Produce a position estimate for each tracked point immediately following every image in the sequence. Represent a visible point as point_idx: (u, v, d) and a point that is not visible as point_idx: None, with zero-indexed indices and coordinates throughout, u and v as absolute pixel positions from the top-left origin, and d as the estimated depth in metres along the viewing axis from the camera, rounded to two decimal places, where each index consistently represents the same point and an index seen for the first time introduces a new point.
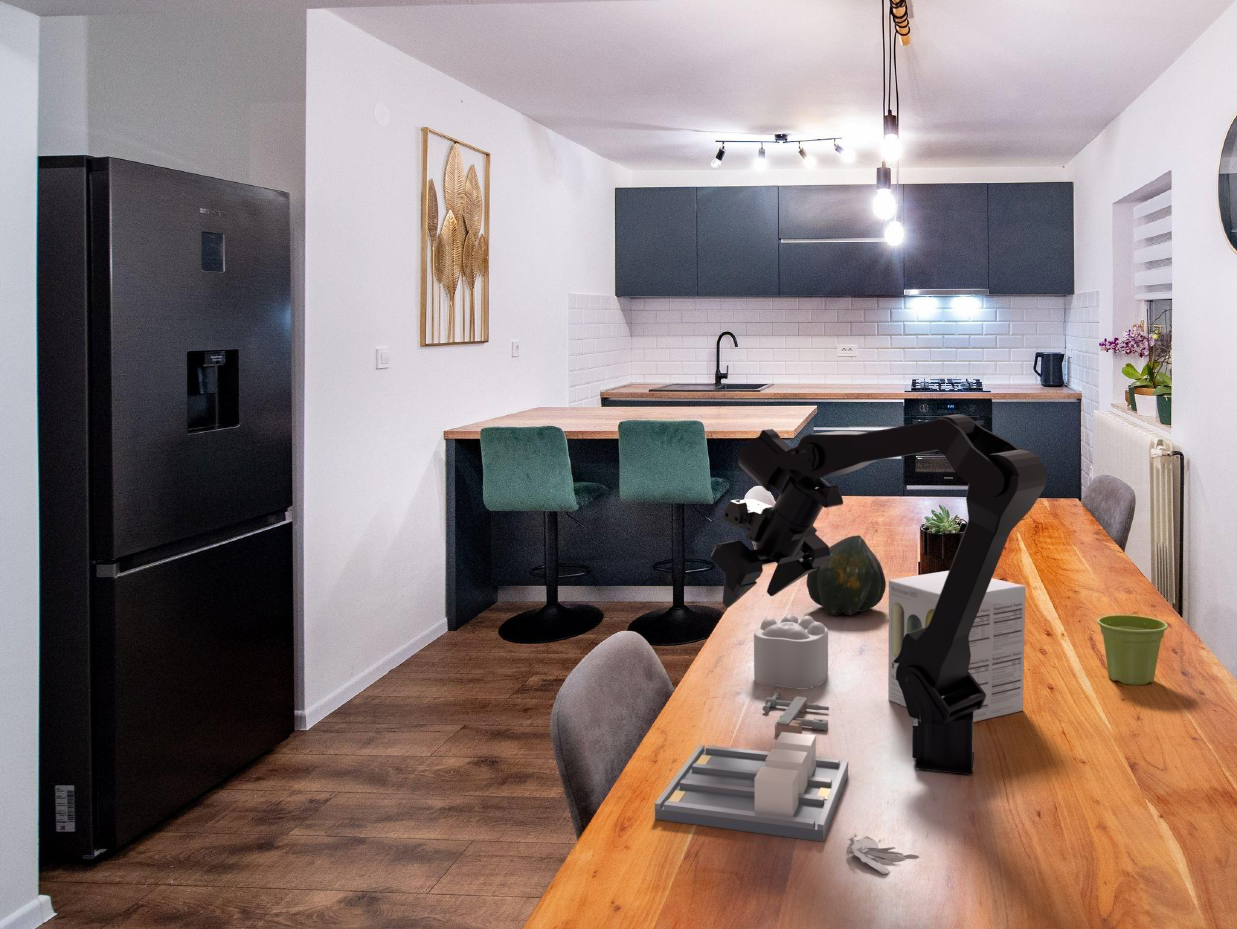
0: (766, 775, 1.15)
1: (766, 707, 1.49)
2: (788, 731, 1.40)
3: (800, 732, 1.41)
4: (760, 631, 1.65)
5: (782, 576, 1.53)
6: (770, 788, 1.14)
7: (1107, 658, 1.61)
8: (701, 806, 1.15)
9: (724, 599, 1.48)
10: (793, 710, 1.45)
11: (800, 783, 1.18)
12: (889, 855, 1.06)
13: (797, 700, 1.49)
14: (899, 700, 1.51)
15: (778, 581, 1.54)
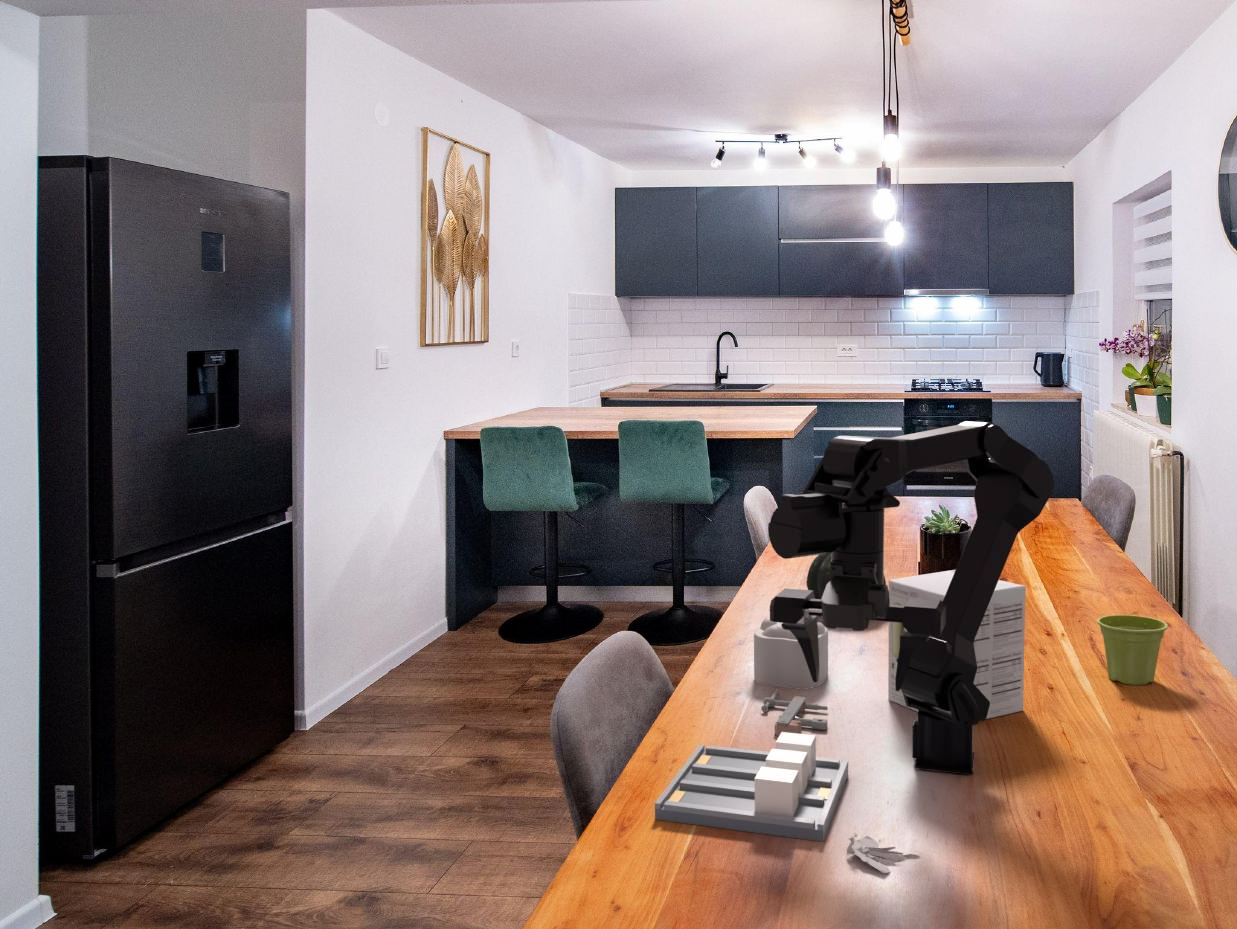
0: (766, 775, 1.15)
1: (765, 707, 1.49)
2: (788, 731, 1.40)
3: (800, 732, 1.41)
4: (760, 631, 1.65)
5: (815, 648, 1.24)
6: (770, 788, 1.14)
7: (1107, 658, 1.61)
8: (701, 806, 1.15)
9: (902, 682, 1.20)
10: (792, 710, 1.45)
11: (800, 783, 1.18)
12: (889, 855, 1.06)
13: (796, 700, 1.49)
14: (899, 700, 1.51)
15: (816, 657, 1.24)
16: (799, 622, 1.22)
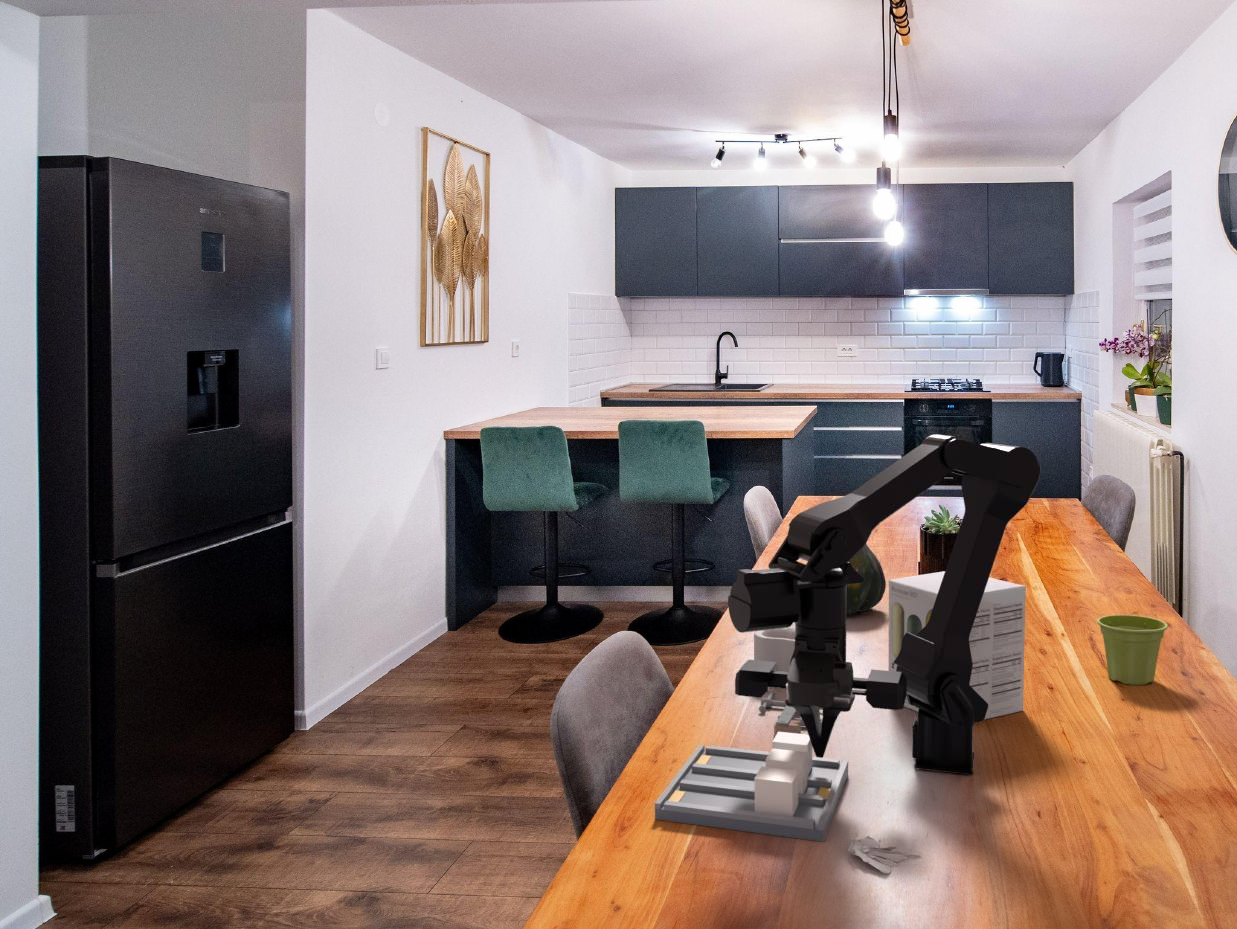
0: (766, 775, 1.15)
1: (762, 707, 1.49)
2: (788, 731, 1.40)
3: (799, 732, 1.41)
4: (760, 631, 1.65)
5: (818, 723, 1.25)
6: (770, 788, 1.14)
7: (1107, 658, 1.61)
8: (701, 806, 1.15)
9: (825, 749, 1.24)
10: (791, 710, 1.45)
11: (800, 783, 1.18)
12: (890, 855, 1.06)
13: None
14: None
15: (819, 732, 1.25)
16: None
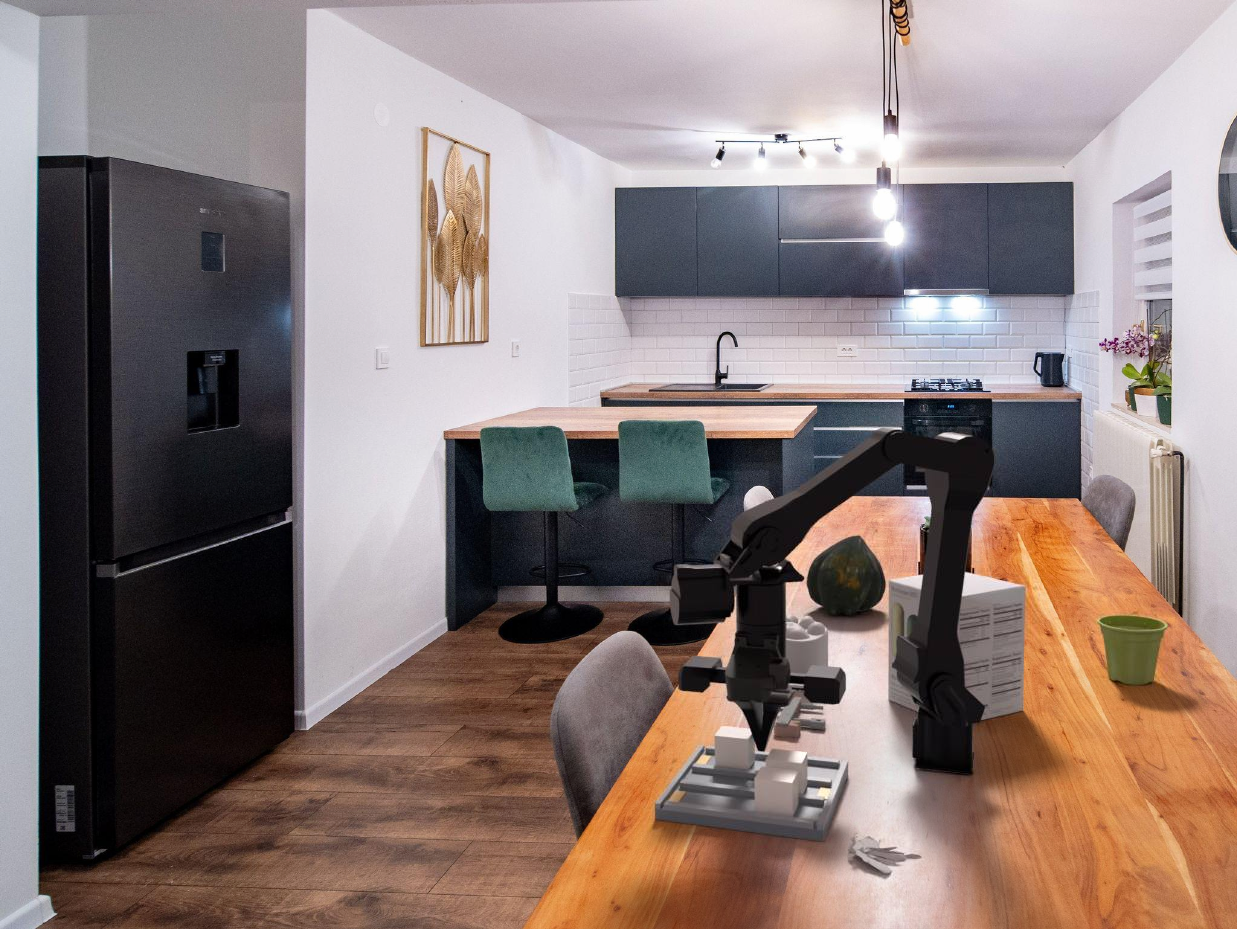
0: (766, 775, 1.15)
1: None
2: (788, 731, 1.40)
3: (799, 732, 1.41)
4: None
5: (760, 718, 1.27)
6: (770, 788, 1.14)
7: (1107, 658, 1.61)
8: (701, 806, 1.15)
9: (767, 743, 1.26)
10: (790, 710, 1.45)
11: (800, 783, 1.18)
12: (891, 855, 1.06)
13: (792, 700, 1.50)
14: (899, 700, 1.51)
15: (761, 727, 1.27)
16: None
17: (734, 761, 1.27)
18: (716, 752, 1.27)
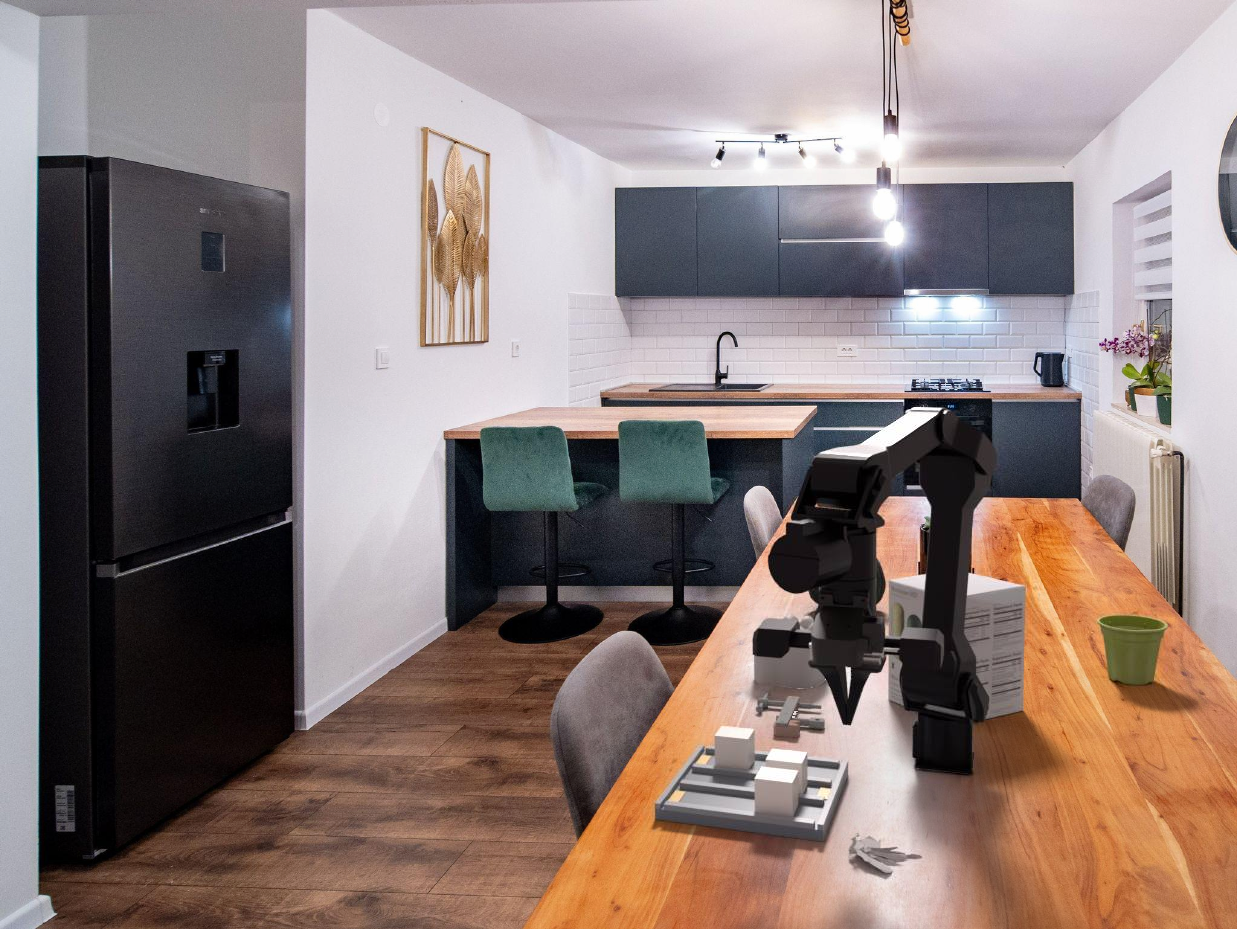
0: (766, 775, 1.15)
1: (760, 708, 1.49)
2: (787, 731, 1.40)
3: (798, 732, 1.41)
4: None
5: (845, 687, 1.12)
6: (770, 788, 1.14)
7: (1107, 658, 1.61)
8: (701, 806, 1.15)
9: (853, 716, 1.12)
10: (789, 710, 1.45)
11: (800, 783, 1.18)
12: (891, 855, 1.06)
13: (790, 700, 1.50)
14: (899, 700, 1.51)
15: (846, 697, 1.12)
16: None
17: (734, 761, 1.27)
18: (716, 752, 1.27)
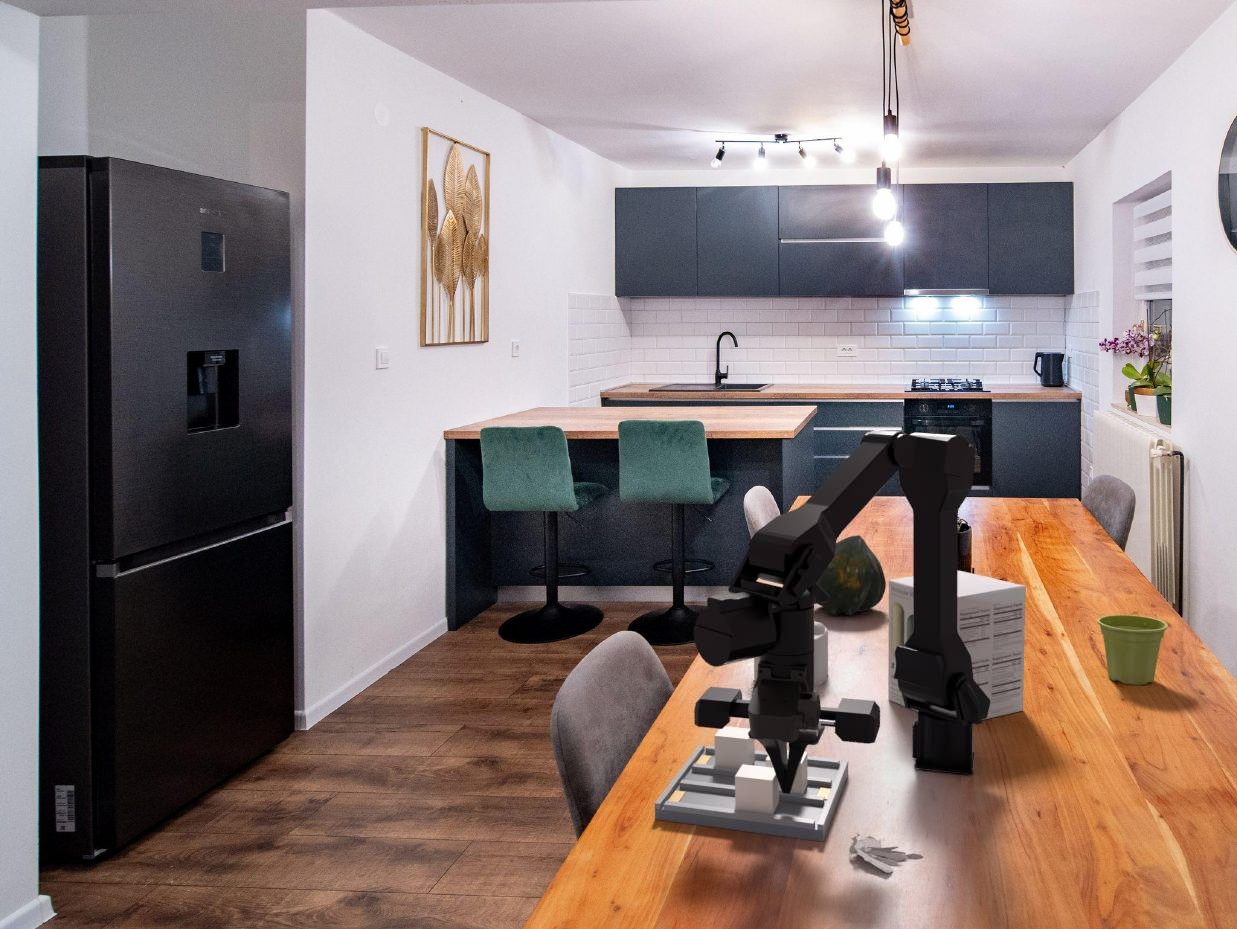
0: (747, 773, 1.16)
1: None
2: None
3: None
4: None
5: (784, 756, 1.15)
6: (750, 785, 1.15)
7: (1107, 658, 1.61)
8: (701, 806, 1.15)
9: (792, 784, 1.14)
10: None
11: (800, 783, 1.18)
12: (892, 854, 1.06)
13: None
14: (899, 700, 1.51)
15: (786, 766, 1.15)
16: None
17: (734, 761, 1.27)
18: (716, 752, 1.27)
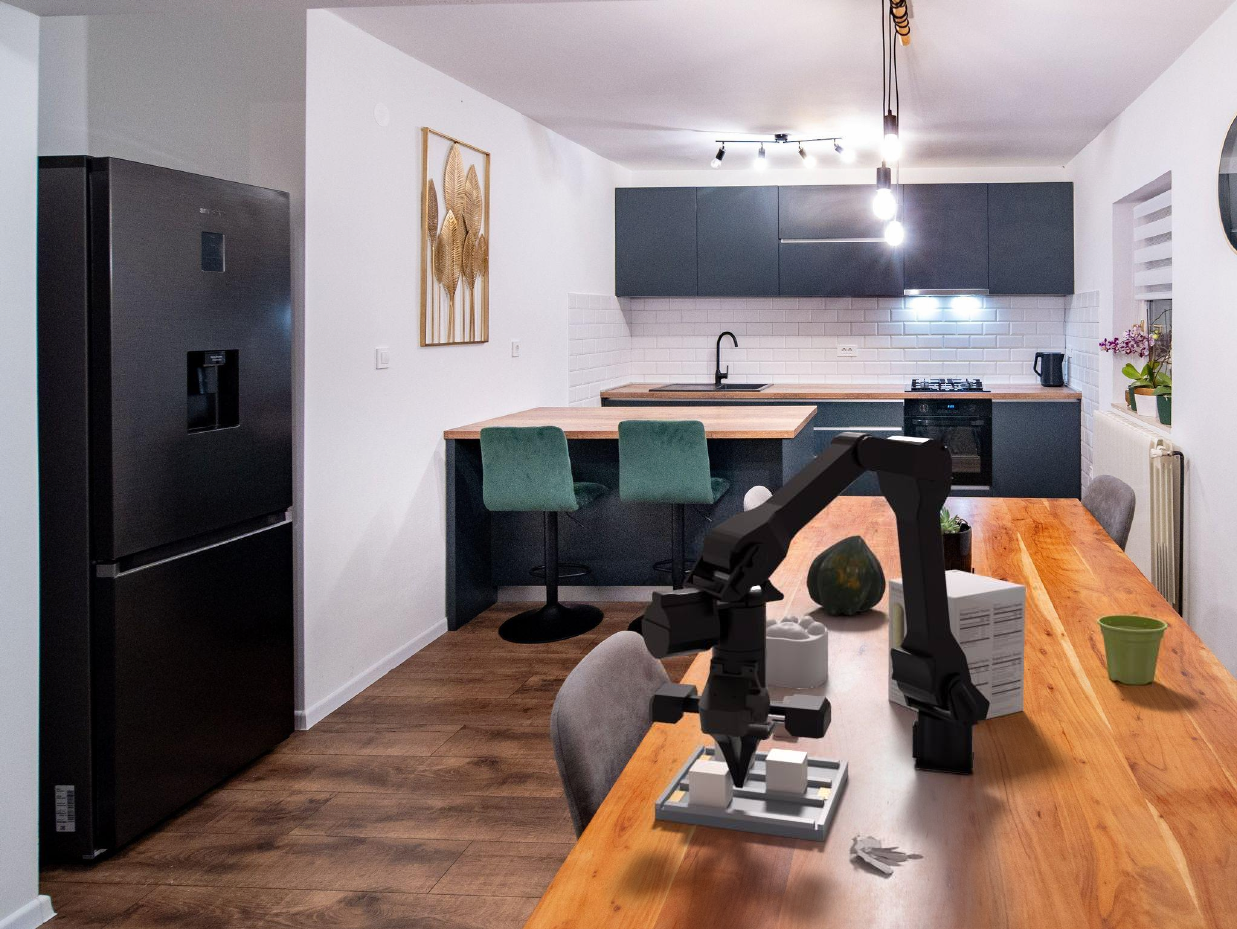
0: (700, 768, 1.17)
1: None
2: (787, 731, 1.40)
3: None
4: None
5: (737, 751, 1.17)
6: (703, 780, 1.16)
7: (1107, 658, 1.61)
8: (701, 806, 1.15)
9: (745, 779, 1.16)
10: None
11: (800, 783, 1.18)
12: (892, 855, 1.06)
13: (787, 700, 1.50)
14: (899, 700, 1.51)
15: (739, 761, 1.17)
16: None
17: None
18: (716, 752, 1.27)
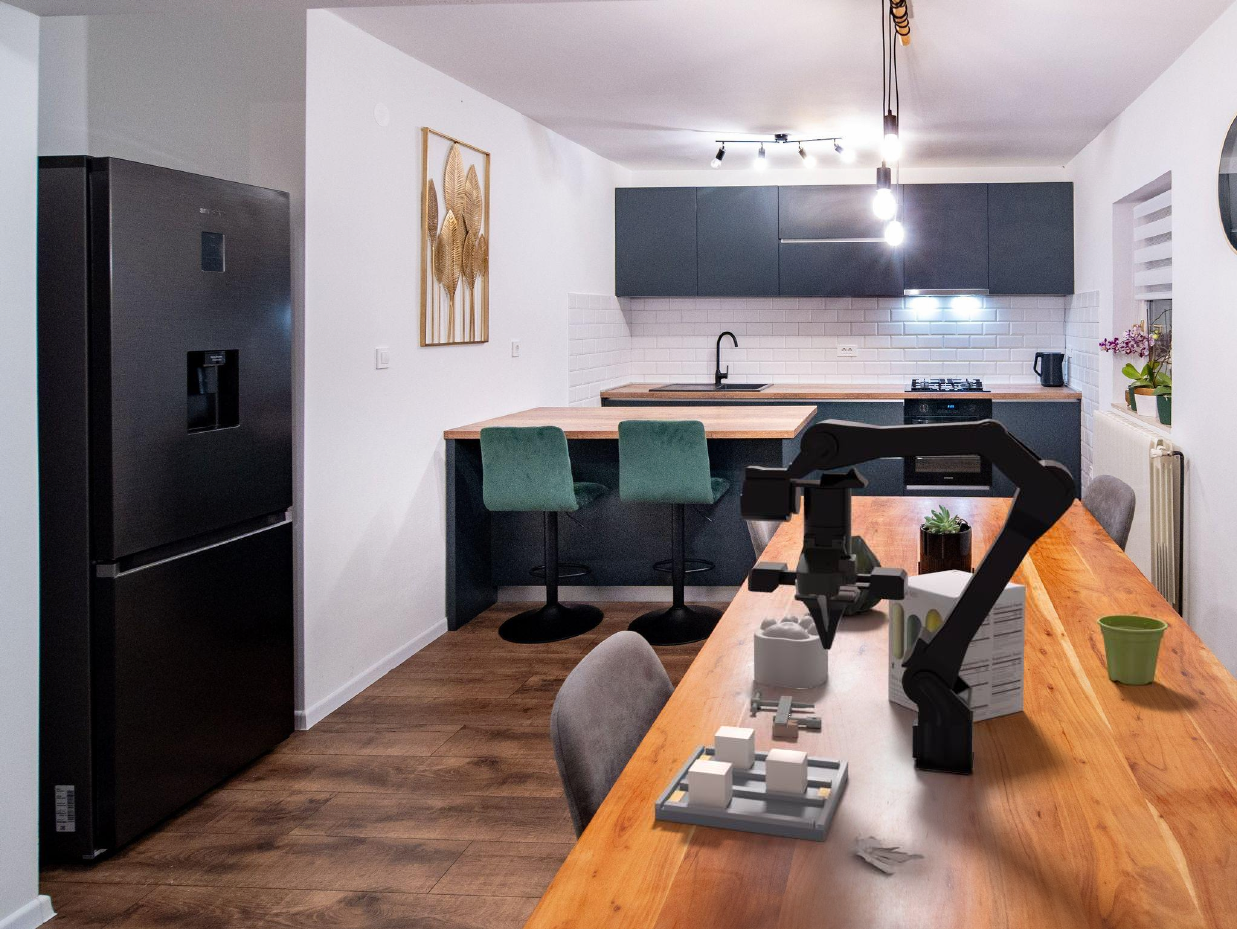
0: (700, 768, 1.17)
1: (754, 708, 1.49)
2: (787, 731, 1.40)
3: None
4: (760, 631, 1.65)
5: (825, 618, 1.34)
6: (703, 780, 1.16)
7: (1107, 658, 1.61)
8: (701, 806, 1.15)
9: (832, 641, 1.33)
10: (785, 709, 1.46)
11: (800, 783, 1.18)
12: (894, 855, 1.06)
13: (784, 699, 1.50)
14: (899, 700, 1.51)
15: (826, 626, 1.34)
16: None
17: (734, 761, 1.27)
18: (716, 752, 1.27)
